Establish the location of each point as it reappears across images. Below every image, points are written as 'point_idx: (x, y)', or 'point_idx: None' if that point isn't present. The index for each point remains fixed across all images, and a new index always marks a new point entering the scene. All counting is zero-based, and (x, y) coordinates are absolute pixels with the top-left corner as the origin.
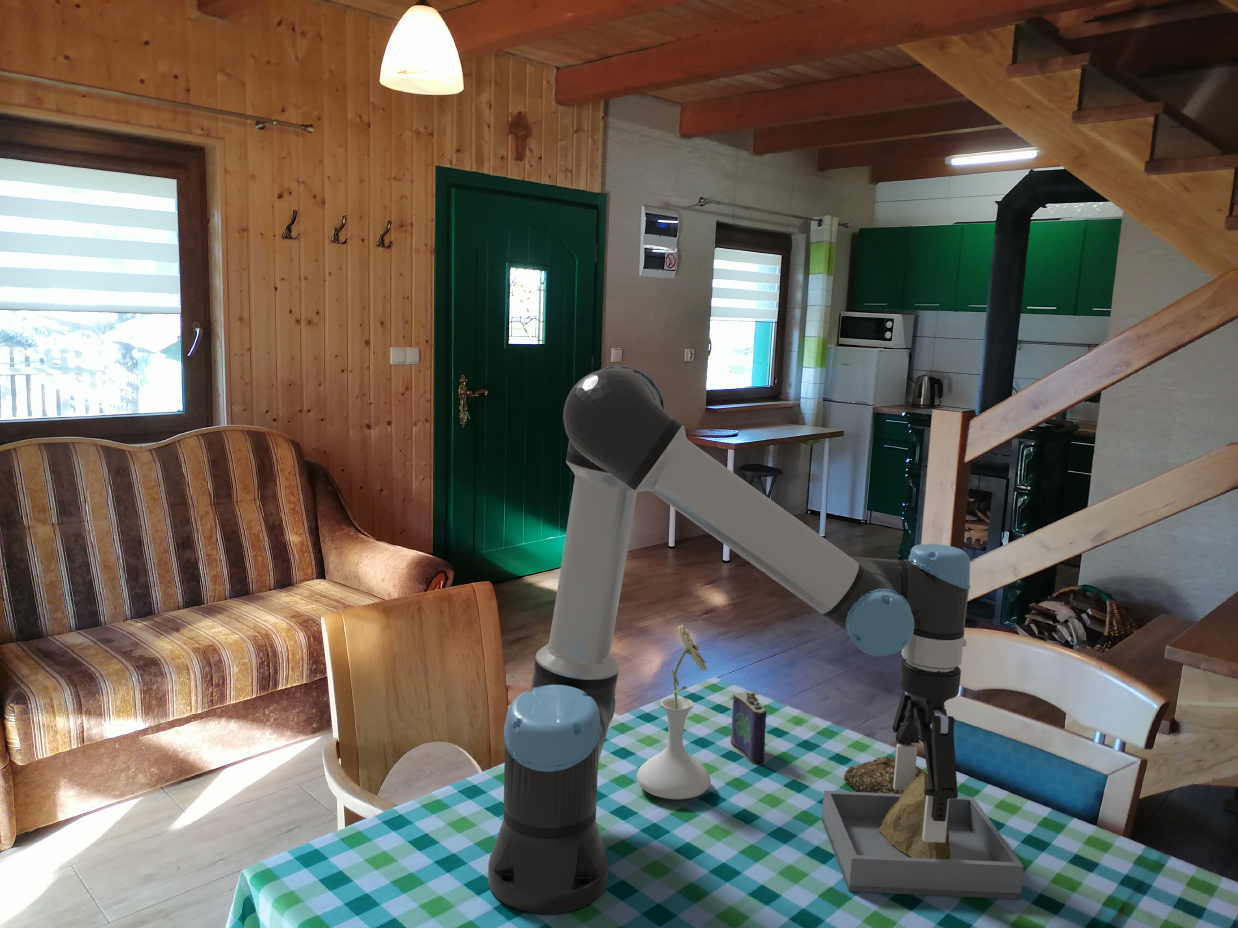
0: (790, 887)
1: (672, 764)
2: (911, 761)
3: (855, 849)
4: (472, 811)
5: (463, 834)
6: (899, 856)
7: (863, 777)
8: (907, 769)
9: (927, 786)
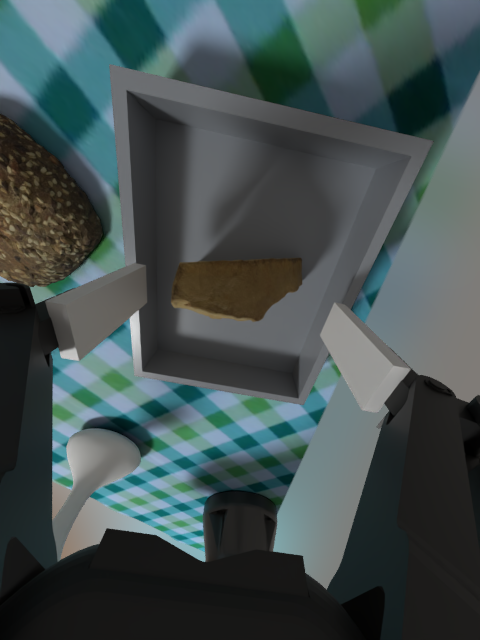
0: (277, 412)
1: (108, 481)
2: (105, 299)
3: (230, 348)
4: (166, 520)
5: (191, 524)
6: None
7: (39, 273)
8: (120, 298)
9: (226, 305)
